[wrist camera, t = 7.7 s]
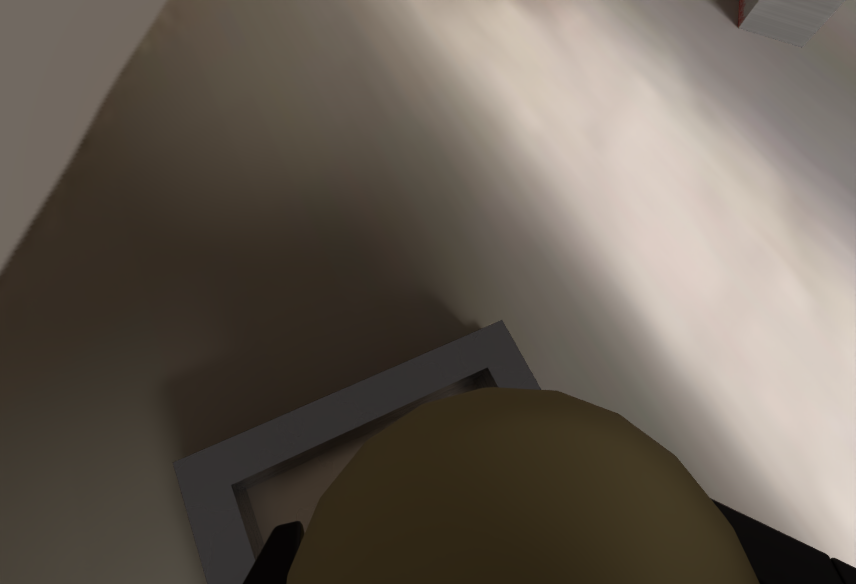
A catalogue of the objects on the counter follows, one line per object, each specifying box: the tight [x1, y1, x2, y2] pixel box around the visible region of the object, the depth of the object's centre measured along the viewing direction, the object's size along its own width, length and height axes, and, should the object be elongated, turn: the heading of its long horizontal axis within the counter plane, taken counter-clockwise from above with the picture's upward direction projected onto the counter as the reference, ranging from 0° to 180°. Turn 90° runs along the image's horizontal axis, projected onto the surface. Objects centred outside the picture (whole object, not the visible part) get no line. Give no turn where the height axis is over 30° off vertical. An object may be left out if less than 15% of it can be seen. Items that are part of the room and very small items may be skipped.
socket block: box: [173, 320, 541, 584], centre depth 15 cm, size 11×11×3 cm
